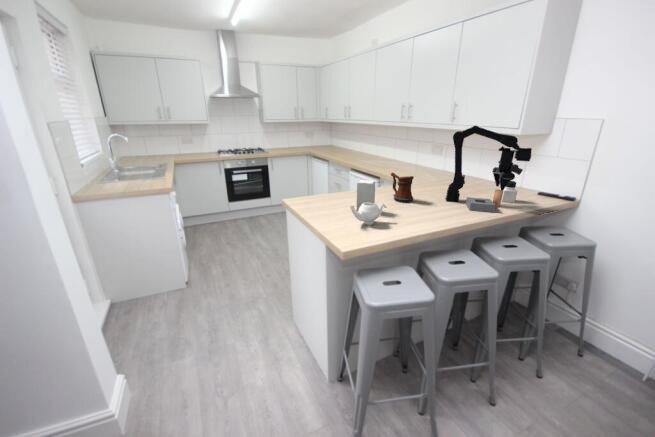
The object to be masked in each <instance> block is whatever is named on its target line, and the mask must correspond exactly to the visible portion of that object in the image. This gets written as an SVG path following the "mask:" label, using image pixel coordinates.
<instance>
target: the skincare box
mask: <svg viewBox="0 0 655 437" xmlns="http://www.w3.org/2000/svg"><path fill="white" fill-rule="evenodd" d="M375 198H376V180H367V179H360V180H359V181H357V183H356V211H357V212H359V208H360V206H361V205H362V204H363V203H365V202H372V203H375V201H376V200H375ZM375 204H376V203H375Z"/></svg>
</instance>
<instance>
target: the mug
mask: <svg viewBox="0 0 655 437" xmlns="http://www.w3.org/2000/svg"><path fill="white" fill-rule="evenodd" d="M390 176H391V177H392V182H393V183H392V190H393V191H394V193H395V194H393V200H394V201H396V202H398V203H401V202H402V203H405V204H410V203H412V202H414V196H413V194H412V184H413V180H414V177H415V176H413V175H411V176H399V175H397V174H396V173H394V172H391V173H390ZM396 179H397V180H398V181H397V180H396ZM397 186H398V187H397ZM397 188H398V189H397Z"/></svg>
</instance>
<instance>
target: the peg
mask: <svg viewBox="0 0 655 437" xmlns="http://www.w3.org/2000/svg"><path fill="white" fill-rule="evenodd" d="M502 196H503V190H500V189H495V190H494V194H493V200H492V202H493V203H494V204H495V205H496V207H495V208H500V207H501V204H502V201H501V200H502Z"/></svg>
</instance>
